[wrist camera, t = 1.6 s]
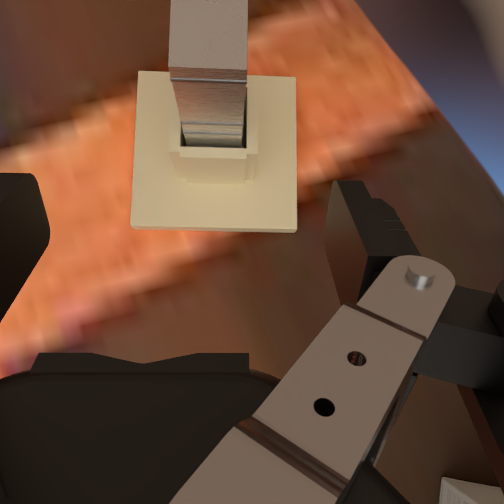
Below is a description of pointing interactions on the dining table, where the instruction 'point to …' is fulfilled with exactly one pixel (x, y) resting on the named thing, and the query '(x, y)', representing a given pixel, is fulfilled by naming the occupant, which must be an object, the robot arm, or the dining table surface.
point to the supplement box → (468, 493)
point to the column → (209, 69)
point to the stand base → (216, 163)
